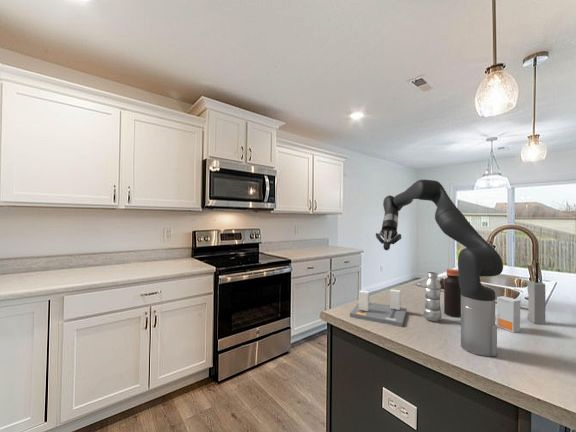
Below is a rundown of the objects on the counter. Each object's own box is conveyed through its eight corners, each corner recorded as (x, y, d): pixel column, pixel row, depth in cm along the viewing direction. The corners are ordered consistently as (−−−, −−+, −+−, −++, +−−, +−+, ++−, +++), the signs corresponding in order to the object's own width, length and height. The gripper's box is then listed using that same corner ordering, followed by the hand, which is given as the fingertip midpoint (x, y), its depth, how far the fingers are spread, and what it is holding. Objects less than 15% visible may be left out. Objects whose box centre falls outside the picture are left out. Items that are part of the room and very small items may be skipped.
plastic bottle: (444, 323, 107) (444, 274, 107) (426, 322, 108) (426, 274, 108) (438, 318, 113) (438, 271, 113) (421, 316, 115) (421, 271, 115)
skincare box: (496, 326, 105) (496, 296, 105) (503, 325, 106) (503, 295, 106) (513, 333, 99) (513, 301, 99) (520, 331, 100) (520, 300, 101)
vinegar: (458, 318, 113) (458, 272, 113) (441, 314, 118) (441, 269, 118) (464, 315, 117) (464, 270, 117) (447, 311, 122) (447, 268, 122)
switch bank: (406, 311, 121) (406, 307, 121) (402, 326, 104) (402, 322, 104) (360, 303, 131) (360, 300, 131) (349, 316, 114) (349, 313, 114)
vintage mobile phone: (537, 320, 112) (537, 261, 112) (545, 325, 107) (545, 263, 107) (526, 319, 113) (527, 261, 113) (534, 323, 108) (534, 263, 108)
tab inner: (400, 307, 120) (400, 290, 120) (399, 309, 118) (399, 292, 118) (391, 306, 122) (391, 289, 122) (390, 308, 119) (390, 290, 120)
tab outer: (369, 309, 118) (369, 291, 118) (367, 311, 115) (367, 293, 116) (360, 307, 120) (360, 290, 120) (358, 309, 117) (358, 291, 117)
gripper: (376, 218, 140) (371, 243, 129) (403, 219, 134) (400, 245, 123) (378, 228, 145) (373, 253, 134) (404, 229, 138) (401, 255, 128)
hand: (386, 249), depth 129 cm, fingers closed
